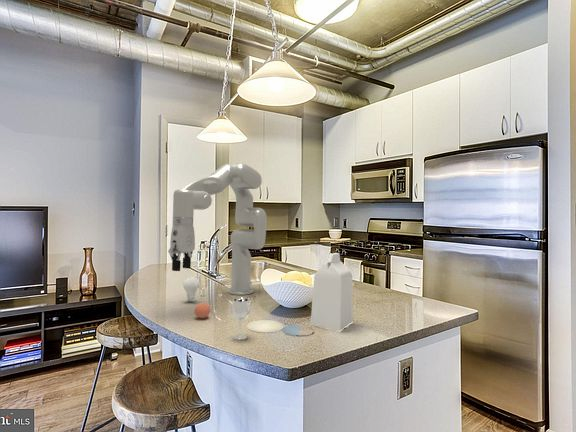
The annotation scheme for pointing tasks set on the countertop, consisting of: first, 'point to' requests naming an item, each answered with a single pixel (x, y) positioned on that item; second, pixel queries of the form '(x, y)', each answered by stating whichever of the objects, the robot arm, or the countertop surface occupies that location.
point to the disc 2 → (291, 329)
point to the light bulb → (191, 287)
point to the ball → (202, 310)
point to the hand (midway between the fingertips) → (181, 269)
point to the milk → (332, 295)
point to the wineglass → (240, 314)
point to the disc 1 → (265, 326)
